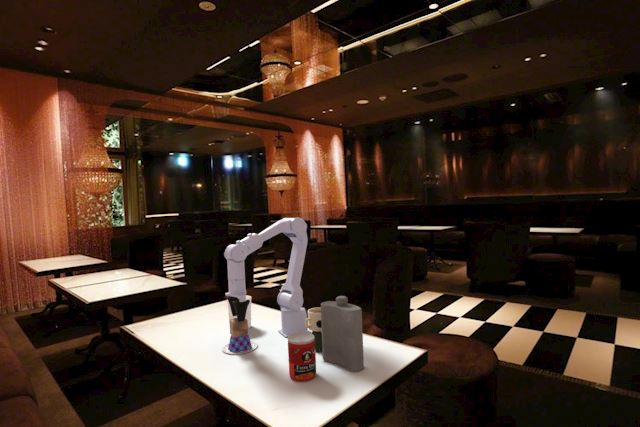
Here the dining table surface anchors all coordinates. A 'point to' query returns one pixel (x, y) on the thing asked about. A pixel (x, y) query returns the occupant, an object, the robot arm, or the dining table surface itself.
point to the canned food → (302, 356)
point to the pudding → (239, 344)
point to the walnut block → (238, 327)
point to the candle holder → (248, 312)
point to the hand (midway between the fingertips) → (238, 318)
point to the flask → (342, 334)
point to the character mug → (315, 326)
